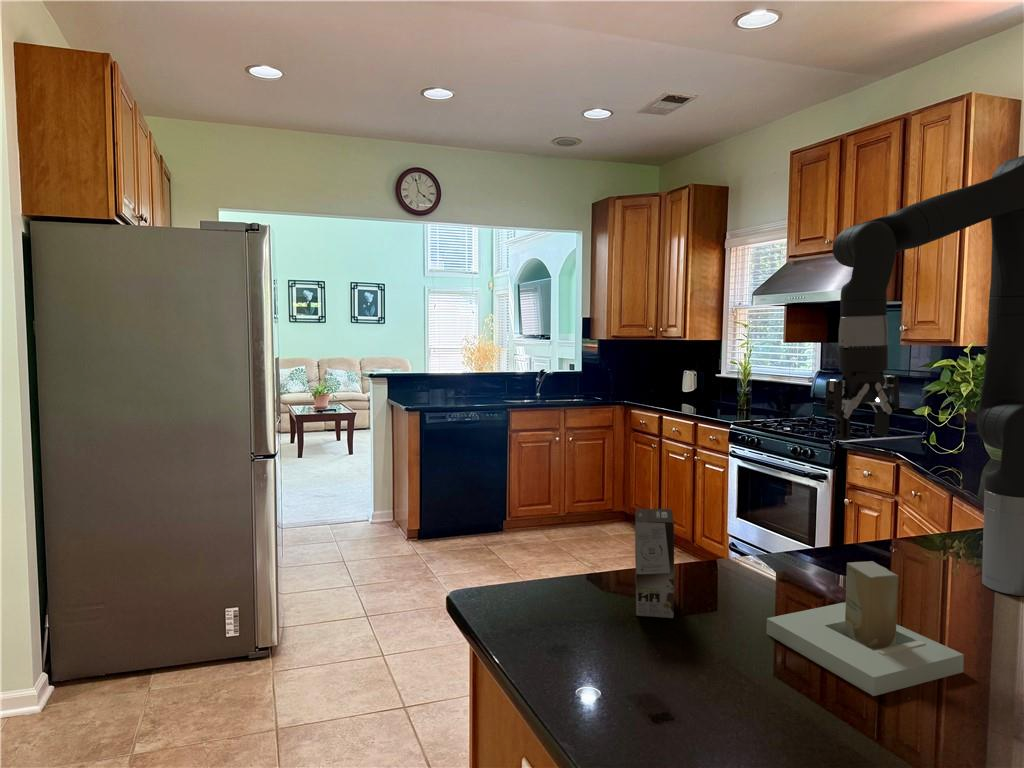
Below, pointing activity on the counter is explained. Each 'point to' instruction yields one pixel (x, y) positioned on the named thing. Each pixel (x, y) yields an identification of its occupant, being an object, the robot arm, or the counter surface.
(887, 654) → the socket board
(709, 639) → the counter surface
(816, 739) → the counter surface
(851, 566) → the skincare box
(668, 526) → the coffee box
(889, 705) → the counter surface
